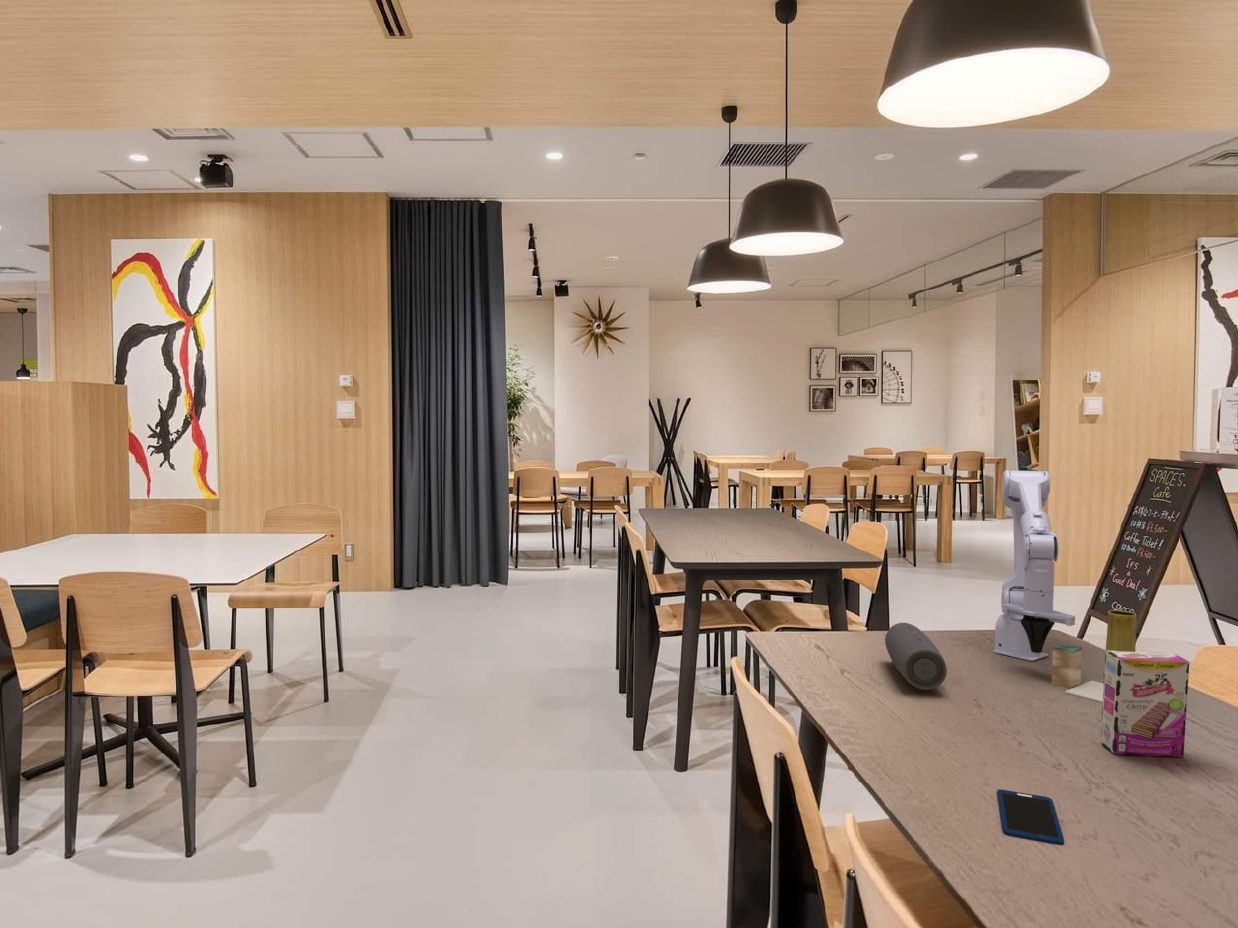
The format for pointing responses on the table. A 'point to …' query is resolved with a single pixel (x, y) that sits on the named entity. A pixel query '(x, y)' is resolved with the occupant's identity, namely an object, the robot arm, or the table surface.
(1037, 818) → the cell phone
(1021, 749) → the table surface
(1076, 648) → the block
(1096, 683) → the mat
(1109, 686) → the candy bar box
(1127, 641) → the vase
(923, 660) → the bluetooth speaker
